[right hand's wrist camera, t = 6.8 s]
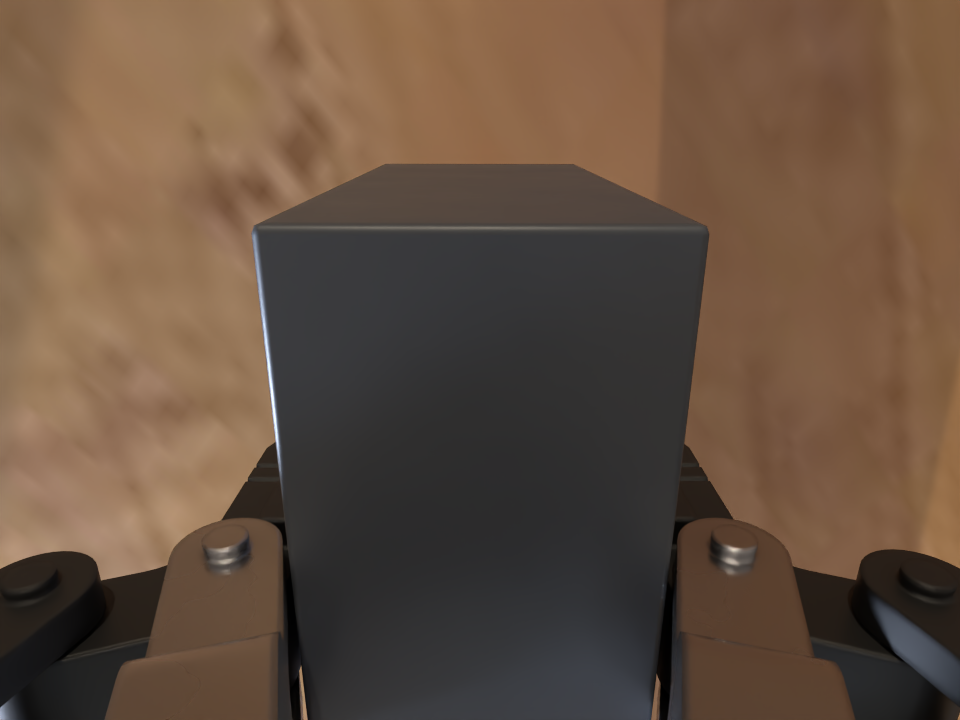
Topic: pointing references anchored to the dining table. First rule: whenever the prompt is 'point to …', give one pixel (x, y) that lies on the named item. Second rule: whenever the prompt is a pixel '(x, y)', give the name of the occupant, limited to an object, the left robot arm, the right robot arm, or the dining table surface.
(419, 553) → the post
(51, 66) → the dining table surface
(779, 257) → the dining table surface
